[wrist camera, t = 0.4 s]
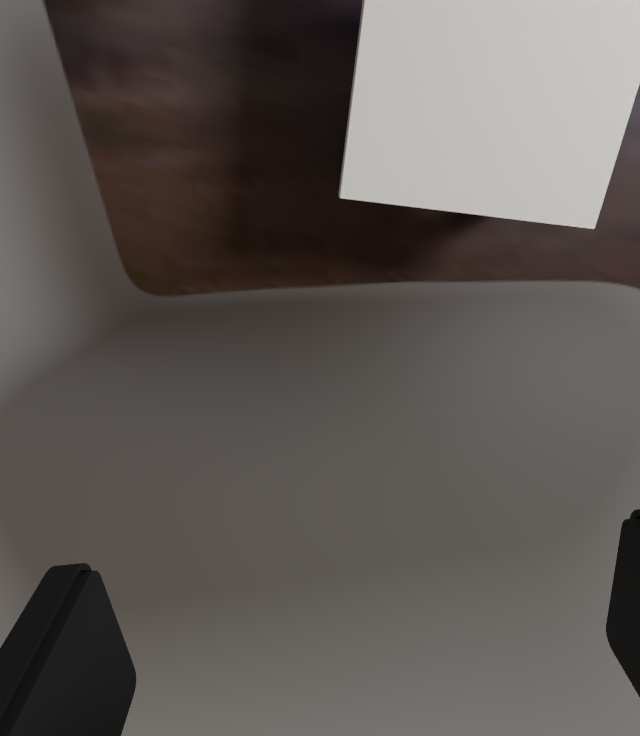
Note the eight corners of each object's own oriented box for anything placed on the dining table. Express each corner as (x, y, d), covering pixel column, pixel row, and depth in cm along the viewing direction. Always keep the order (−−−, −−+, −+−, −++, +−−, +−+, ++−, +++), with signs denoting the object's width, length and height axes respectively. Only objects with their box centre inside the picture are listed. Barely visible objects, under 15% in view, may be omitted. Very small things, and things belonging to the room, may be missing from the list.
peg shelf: (367, -104, 30) (390, -206, 22) (599, -68, 31) (712, -151, 23) (332, 186, 37) (339, 198, 28) (527, 210, 37) (594, 229, 29)
